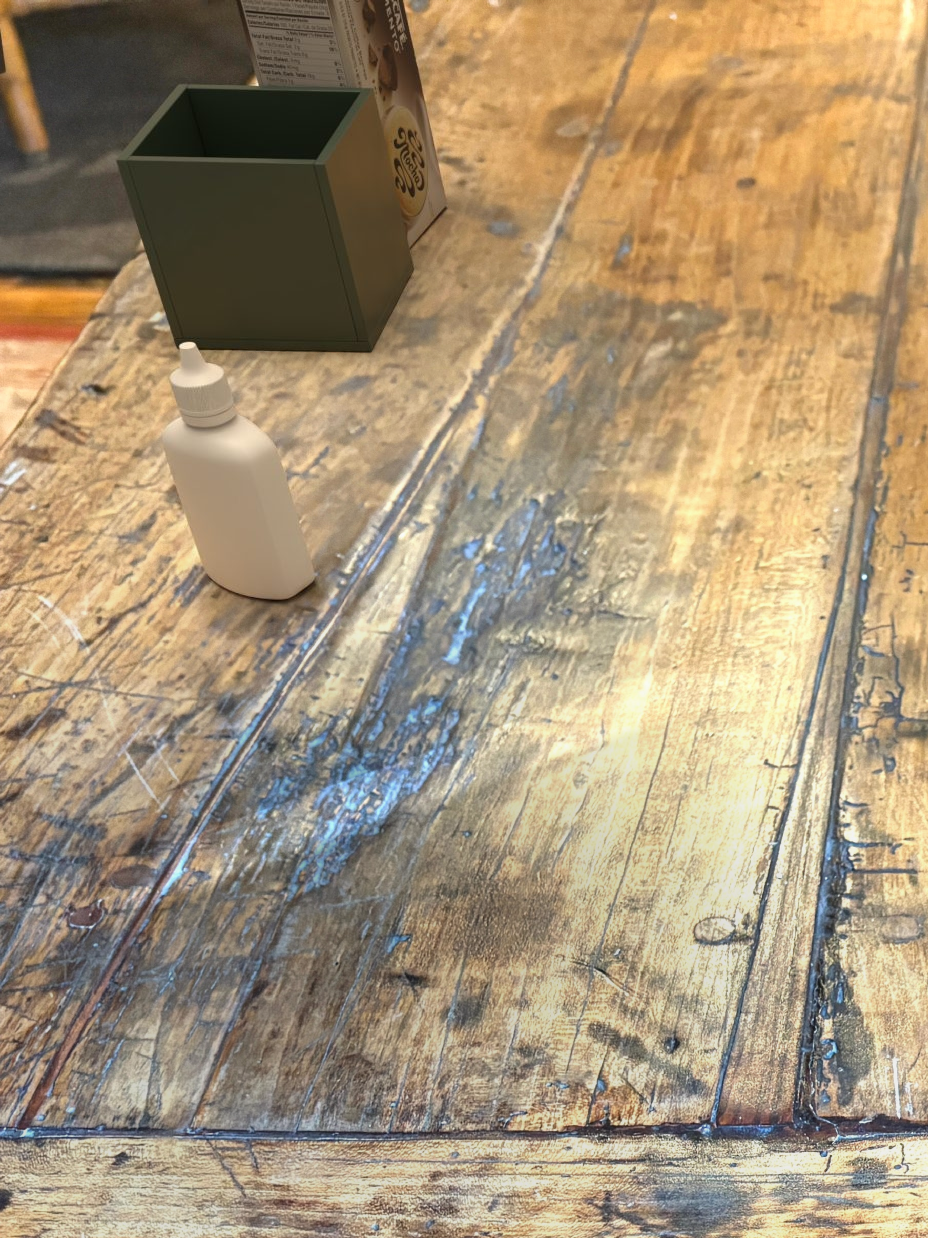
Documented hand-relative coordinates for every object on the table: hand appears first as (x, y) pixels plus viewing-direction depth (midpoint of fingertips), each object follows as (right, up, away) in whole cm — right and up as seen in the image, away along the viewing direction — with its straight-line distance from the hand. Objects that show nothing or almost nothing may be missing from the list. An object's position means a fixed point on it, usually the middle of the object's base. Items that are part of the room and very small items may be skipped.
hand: (91, 19), depth 72 cm
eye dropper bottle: (-5, -14, +26) cm, 30 cm away
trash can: (-11, +8, +47) cm, 49 cm away
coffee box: (-9, +16, +54) cm, 57 cm away
